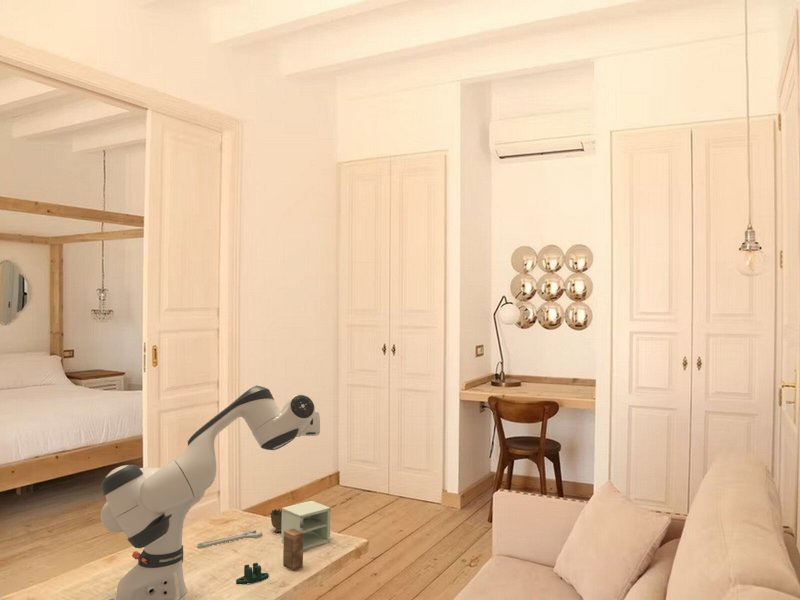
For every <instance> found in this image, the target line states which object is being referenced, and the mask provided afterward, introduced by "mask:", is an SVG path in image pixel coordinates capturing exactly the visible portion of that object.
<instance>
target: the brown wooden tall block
mask: <svg viewBox="0 0 800 600" xmlns="http://www.w3.org/2000/svg"><path fill="white" fill-rule="evenodd" d="M282 546H283V553H282V555H283V556H282V558H283V561H282V567H285V568H287V569H289V570H291V571H293V572H294V571H297V570H301V569H303V567H304V550H303V533H302V532H300V531H298V530H296V529H290V530H286V531H284V543H283V545H282Z"/></svg>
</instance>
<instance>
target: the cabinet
mask: <svg viewBox="0 0 800 600" xmlns="http://www.w3.org/2000/svg"><path fill="white" fill-rule="evenodd" d="M281 509H282V527H281V532H280V533H281V534H280V535H281V536H280V538H281V539H280V540H281V541H280V542H281V543H282V542H283V543H282V544H284V531H286V530H290V529H296V530H298V531H300V532H302V533H303V551H305V550H308V549H311V548H314V547H317V546H321V545H323V544H327V543H329V542H330V543H331V541H330V540H331V539H330V538H331V507H330V506H327V505H324V504H322V503H319V502H317V501H313V500H309V501H304V502H301V503H296V504H293V505H289V506H283V507H281ZM310 547H311V548H310ZM304 549H305V550H304Z"/></svg>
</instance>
